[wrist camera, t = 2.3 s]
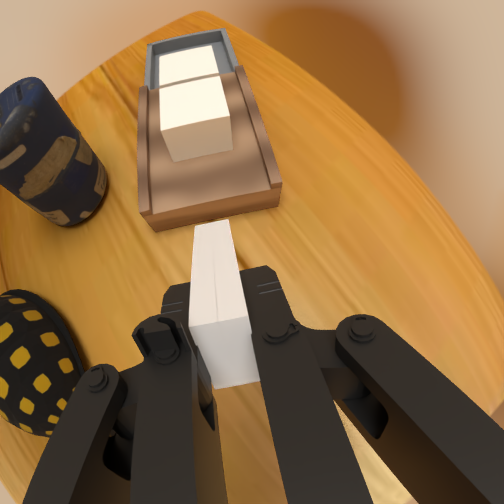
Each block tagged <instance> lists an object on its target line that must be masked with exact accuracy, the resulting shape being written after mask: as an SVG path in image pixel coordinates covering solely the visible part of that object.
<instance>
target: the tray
mask: <svg viewBox="0 0 504 504" xmlns="http://www.w3.org/2000/svg"><path fill="white" fill-rule="evenodd" d="M210 45H212V49H213V53H214V57H215V60H216V64H217V68H218V72H219V75H220V74H226V73H232V72H235V66H239V64H238V61H237V59H236V56H235V53H234V51H233V48H232V45H231V43H230V40H229V37H228V35H227V32H226V29H225V28H221V29H215V30H208V31H203V32H197V33H192V34H187V35H182V36H178V37H173V38H169V39H165V40H161V41H157V42H154V43H150V44H147V55H146V68H145V83H144V86H145V85H147V86H148V89H149V90H152V89H156V88H160V86H159V58H160V56H164V55H167V54H172V53H176V52H180V51H185V50H189V49H194V48H199V47H205V46H210Z"/></svg>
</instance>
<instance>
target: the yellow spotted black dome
mask: <svg viewBox="0 0 504 504" xmlns="http://www.w3.org/2000/svg"><path fill="white" fill-rule="evenodd" d="M84 373H85V372H84V369H83V366H82V363H81V360H80V358H79V355H78V353H77V350H76V347H75V345H74V343H73V340H72V338H71V336H70V333H69V331H68V329H67V327H66V325H65V324H64V322H63V320H62V318H61V317H60V316H59V314H58V313H57V312H56V311H55V309H54V308H53V307H52V306H51V305H49V304H48V303H47V302H46V301H45V300H44V299H42V298H41V297H39V296H38V295H36V294H34V293H31V292H29V291H26V290H20V289H16V290H9V291H7V292H5V293H3V294H2V295H0V415H1V416H2V417H3V418H4V419H5V420H6V421H8V422H10V423H11V424H13V425H15V426H16V427H18V428H20V429H22V430H24V431H26V432H28V433H31V434H34V435H38V436H45V437H50V436H51V434H52V432H53V430H54V428H55V426H56V424H57V422H58V420H59V418H60V416H61V414H62V412H63V410H64V408H65V406H66V404H67V402H68V400H69V398H70V397H71V395H72V393H73V391H74V389H75V387H76V385H77V384H78V382H79V380H80V378H81V377H82V376H83V374H84Z"/></svg>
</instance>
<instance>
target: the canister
mask: <svg viewBox="0 0 504 504" xmlns="http://www.w3.org/2000/svg"><path fill="white" fill-rule="evenodd" d="M106 182H107V176H106V171H105V168H104V166H103V164H102V163H101V161H100V160H99V158H98V157H97V156H96V154H95V153H94V152H93V151H92V149H91V148H90V146H89V145H88V143H87V142H86V141H85V139H84V138H83V137H82V135H81V132H80V131H79V130H78V129H77V128H76V127H75V126H74V124H73V123H72V122H71V120H70V119H69V118H68V117H67V115H66V114H65V112H64V111H63V110H62V108H61V107H60V105H59V104H58V102H57V101H56V100H55V98H54V97H53V95H52V94H51V93H50V91H49V90H48V88H47V87H46V85H45V84H44V83H43V82H42V80H40V79H39V78H36V77H28V78H24V79H21V80H19V81H17V82H15V83H14V84H12V85H10V86H9V87H8V88H6V89H5V90H4V91H3V92H2V93H0V184H1V185H2V186H3V187H5V188H6V189H7V190H9V191H10V192H11V193H13V194H14V195H15V196H17V197H18V198H19V199H20V200H21V201H23V202H24V203H25V204H27V205H28V206H30V207H31V208H32V209H34V210H35V211H37V212H38V213H40V214H41V215H42V216H44V217H45V218H47V219H48V220H50V221H51V222H53V223H55V224H57V225H60V226H71V225H75V224H77V223H79V222H81V221H83V220H84V219H86V218H87V217H88V216H89V215H90V214H91V213H92V212H93V211H94V210H95V209H96V207H97V206H98V204H99V203H100V201H101V199H102V197H103V195H104V192H105V188H106Z"/></svg>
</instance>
